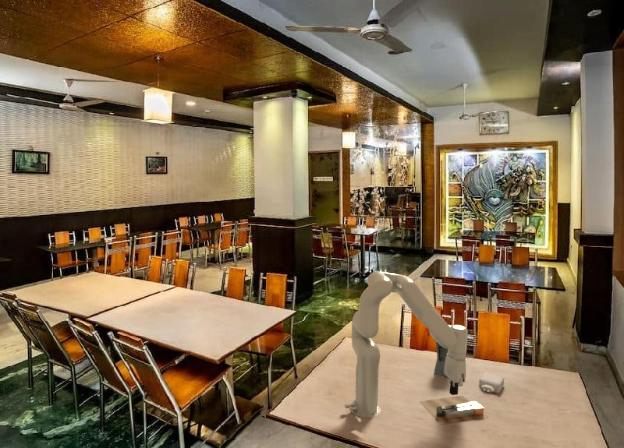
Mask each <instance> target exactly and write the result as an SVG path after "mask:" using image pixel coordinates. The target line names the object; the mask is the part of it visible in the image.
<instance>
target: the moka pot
mask: <svg viewBox="0 0 624 448" xmlns="http://www.w3.org/2000/svg"><path fill="white" fill-rule="evenodd" d="M435 342H436V341H435ZM435 344H436V360H435V361H436V362H435V365H434V370H433V372H434V374H435V375H439V376H441V377H443V378H448V377H447V376H446V375H445V374H444V366H445V360H446V356H447V353H448V349H446V348H443V347H442V346H441V345H440V344H439V343H438V342H436V343H435Z"/></svg>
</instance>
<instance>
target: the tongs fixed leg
mask: <svg viewBox="0 0 624 448" xmlns="http://www.w3.org/2000/svg"><path fill="white" fill-rule="evenodd" d="M484 409H485V407H483V406H482V404H479V405H475V406H470V407H463V408H456V409H449V410H445V412H444V417H445V418H446V419H451V418H458V417H464V416H471V415H475V416H477V415H483V414H485V413H484V412H485V410H484Z"/></svg>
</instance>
